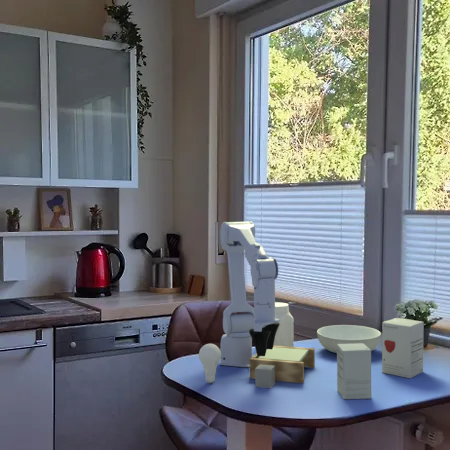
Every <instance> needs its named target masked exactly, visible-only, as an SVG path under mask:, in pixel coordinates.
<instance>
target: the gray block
mask: <svg viewBox="0 0 450 450" xmlns="http://www.w3.org/2000/svg"><path fill="white" fill-rule="evenodd" d="M274 385H276V381H275V366H273V365H261V364H260V365H259V366H257V367H256V368H255V388H263V389H265V388H266V389H268V388H269V389H272V388H273V386H274Z"/></svg>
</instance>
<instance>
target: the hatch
mask: <svg viewBox="0 0 450 450" xmlns="http://www.w3.org/2000/svg"><path fill="white" fill-rule="evenodd" d="M307 353H308V350H305V349H292V348H278V347H273V349H266V355H265V356H258V357H257V358H259V359H272V360H284V361H296V362H301V361H302V360H303V358H304V357H305V356H306V355H307Z"/></svg>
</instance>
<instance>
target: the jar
mask: <svg viewBox="0 0 450 450" xmlns="http://www.w3.org/2000/svg"><path fill="white" fill-rule="evenodd" d="M289 305H290V304H289V303H286V302H278V301H277V302H276V301H275V318H276V319H279V320H280V322H278V323H280V325H279V327H278V329H277V332H276V335H275V340H274V346H287V347H295V341H294V339H295V338H294V333H295V332H294V322H295V321H294V317H293V316H292V313H291V312H290V306H289Z"/></svg>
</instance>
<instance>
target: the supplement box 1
mask: <svg viewBox="0 0 450 450" xmlns="http://www.w3.org/2000/svg"><path fill="white" fill-rule="evenodd" d="M336 370H337V371H336V372H337V373H336V377H337V379H336V381H337V382H336V385H337V389H336V390H337V391H338V393H339V395H340V397H341V398H342V399H343V400H361V399H370V400H371V399H372V351H371V350H370V349H369V348H368V347H367V346H366V345H365V344H363V343H357V344H337V353H336Z"/></svg>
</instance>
